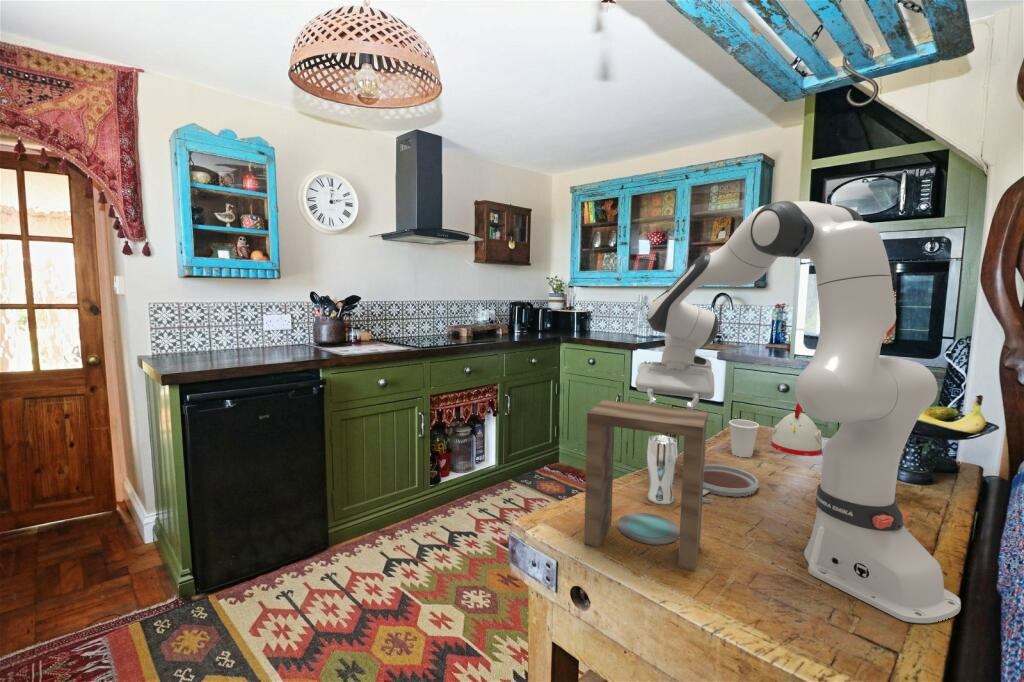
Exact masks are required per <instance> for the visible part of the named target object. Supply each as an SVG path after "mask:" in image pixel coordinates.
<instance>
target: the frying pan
mask: <svg viewBox="0 0 1024 682" xmlns="http://www.w3.org/2000/svg"><path fill="white" fill-rule="evenodd" d="M759 487H760V483H759V480H758V478H757V477H756V476H754V475H753V474H752V473H750V472H748V471H746V470H744V469H740V468H737V467H734V466H729V465H723V464H712V463H711V464H710V463H709V464H708V463H707V464H704V481H703V496H705V495H706V494H712V493H713V495H716V494H717V496H721V495H722V496H723V497H727V496H733V497H732V498H742V497H741V496H744V497H748V495H749V496H752V495H754V494H755V493H756V492H757V490H758V488H759ZM755 491H756V492H755ZM754 492H755V493H754ZM681 493H682V490H681ZM751 494H752V495H751ZM702 503H706V504H714V500H713V499H707V498H703V500H702Z"/></svg>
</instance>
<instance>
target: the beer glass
mask: <svg viewBox="0 0 1024 682" xmlns="http://www.w3.org/2000/svg"><path fill="white" fill-rule="evenodd" d="M646 452H647V453H646V460H647V461H646V463H647V470H648V477H649V489H648V493H647V500H649V502H652V503H654V504H657V505H671V504H672V503H674V492H673V483H674V479H675V475H676V471H677V465H678V440H677V438H675V437H672V436H668V435H660V434H655V435H651V436H649V437H648V443H647V451H646Z"/></svg>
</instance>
